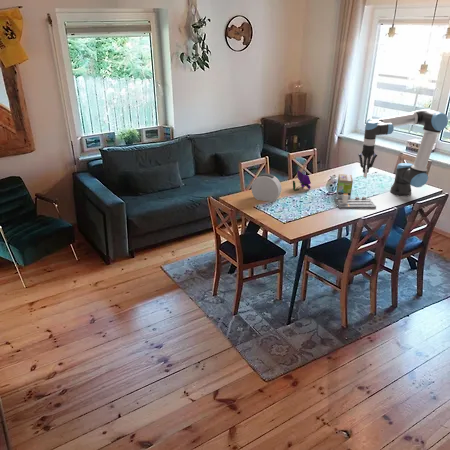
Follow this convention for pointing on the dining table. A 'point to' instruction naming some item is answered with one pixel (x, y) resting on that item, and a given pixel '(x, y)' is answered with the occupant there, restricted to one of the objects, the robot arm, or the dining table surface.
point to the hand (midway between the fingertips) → (364, 176)
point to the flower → (302, 181)
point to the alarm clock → (266, 188)
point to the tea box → (344, 185)
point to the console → (356, 203)
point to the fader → (345, 198)
